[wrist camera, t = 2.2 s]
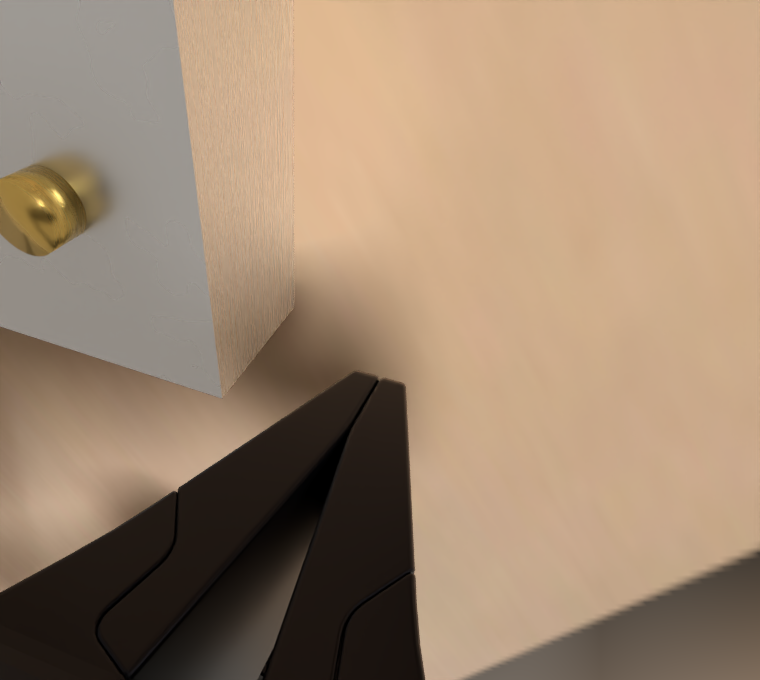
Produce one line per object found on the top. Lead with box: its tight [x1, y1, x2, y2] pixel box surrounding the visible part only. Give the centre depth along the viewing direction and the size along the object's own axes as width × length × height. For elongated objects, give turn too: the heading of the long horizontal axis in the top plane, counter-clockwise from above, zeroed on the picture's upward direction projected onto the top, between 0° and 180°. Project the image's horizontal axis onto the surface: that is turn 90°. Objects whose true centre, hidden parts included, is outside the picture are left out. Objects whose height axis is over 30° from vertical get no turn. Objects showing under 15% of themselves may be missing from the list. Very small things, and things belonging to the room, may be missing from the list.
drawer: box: [0, 0, 294, 398], centre depth 15 cm, size 10×9×6 cm
